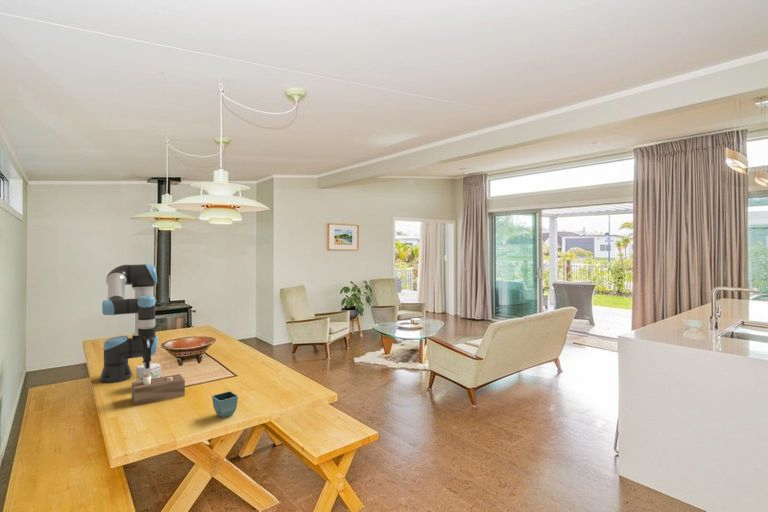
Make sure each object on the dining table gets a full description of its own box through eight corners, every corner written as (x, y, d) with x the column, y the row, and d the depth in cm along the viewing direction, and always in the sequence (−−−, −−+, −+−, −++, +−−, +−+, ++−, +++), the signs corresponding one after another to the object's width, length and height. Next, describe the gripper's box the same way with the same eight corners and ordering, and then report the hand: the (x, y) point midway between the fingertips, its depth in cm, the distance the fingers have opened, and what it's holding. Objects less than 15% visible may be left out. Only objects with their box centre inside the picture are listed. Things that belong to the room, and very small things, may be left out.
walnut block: (131, 397, 205) (131, 382, 204) (179, 388, 218) (179, 374, 218) (134, 405, 195) (134, 389, 195) (184, 395, 208) (184, 380, 208)
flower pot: (211, 414, 187) (211, 395, 186) (230, 409, 193) (230, 390, 192) (219, 421, 180) (219, 401, 180) (238, 415, 186) (238, 396, 186)
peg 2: (165, 393, 210) (165, 377, 209) (172, 391, 212) (172, 376, 211) (166, 394, 207) (166, 379, 207) (173, 393, 209) (173, 378, 209)
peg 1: (143, 390, 204) (142, 374, 203) (150, 389, 206) (150, 373, 205) (143, 392, 201) (143, 376, 201) (151, 390, 203) (151, 375, 203)
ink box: (147, 390, 215) (147, 368, 214) (135, 388, 218) (135, 366, 217) (161, 385, 223) (161, 364, 223) (149, 383, 226) (149, 362, 225)
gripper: (136, 326, 205) (136, 372, 206) (139, 330, 195) (139, 379, 195) (153, 324, 209) (153, 369, 210) (157, 328, 199) (157, 376, 200)
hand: (147, 374), depth 203 cm, fingers closed
